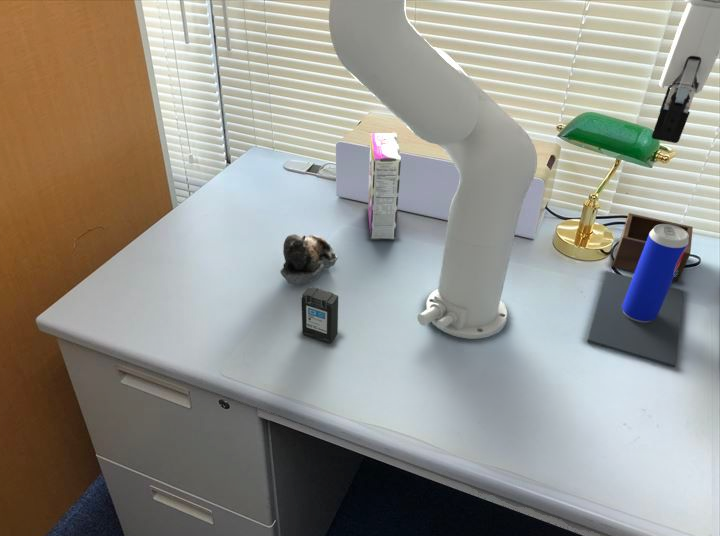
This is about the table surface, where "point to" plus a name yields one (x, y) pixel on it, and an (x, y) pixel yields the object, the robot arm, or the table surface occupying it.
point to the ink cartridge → (319, 314)
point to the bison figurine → (306, 258)
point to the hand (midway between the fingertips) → (668, 127)
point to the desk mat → (636, 324)
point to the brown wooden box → (643, 242)
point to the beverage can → (655, 272)
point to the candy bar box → (383, 185)
